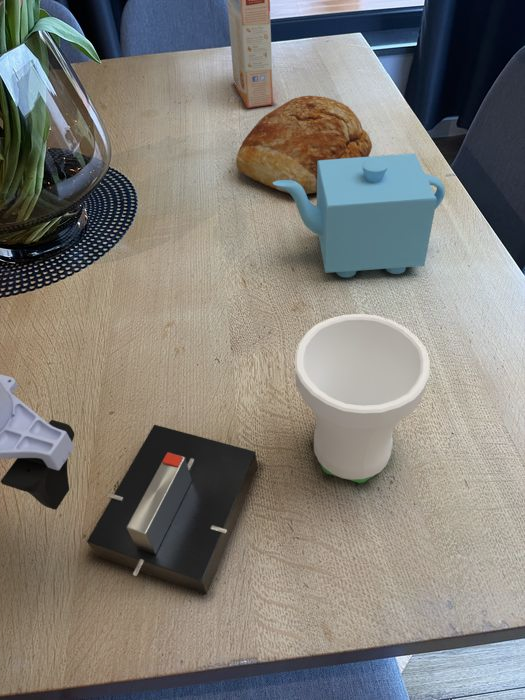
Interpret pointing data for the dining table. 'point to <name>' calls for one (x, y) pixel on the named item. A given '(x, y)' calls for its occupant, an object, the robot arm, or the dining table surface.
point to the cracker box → (251, 50)
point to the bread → (301, 141)
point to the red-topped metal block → (160, 503)
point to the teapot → (370, 212)
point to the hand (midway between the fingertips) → (19, 485)
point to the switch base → (192, 515)
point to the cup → (359, 389)
